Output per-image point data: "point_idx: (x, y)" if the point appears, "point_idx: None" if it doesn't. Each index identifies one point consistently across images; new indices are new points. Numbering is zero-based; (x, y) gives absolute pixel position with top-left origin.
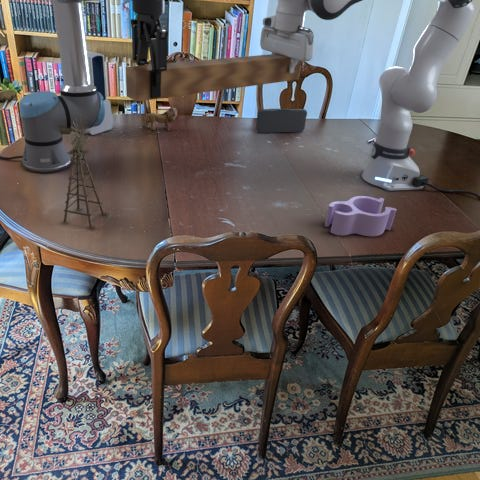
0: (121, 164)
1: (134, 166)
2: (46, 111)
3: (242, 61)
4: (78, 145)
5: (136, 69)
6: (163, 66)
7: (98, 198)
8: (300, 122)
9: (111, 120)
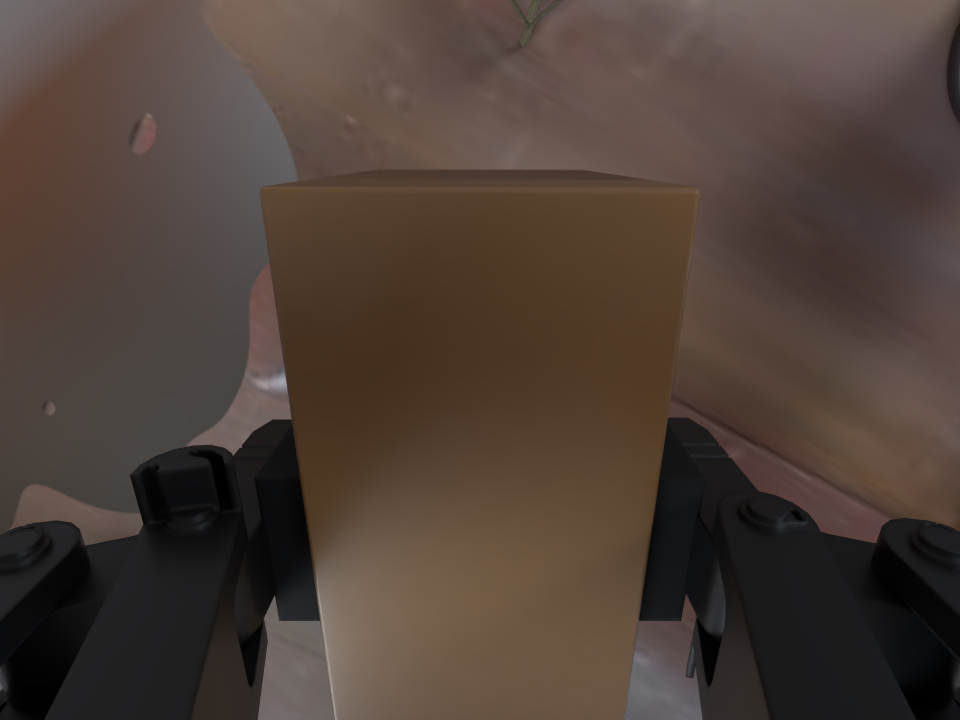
0: (825, 309)
1: (779, 341)
2: None
3: None
4: None
5: (430, 300)
6: (4, 689)
7: (530, 7)
8: None
9: None
